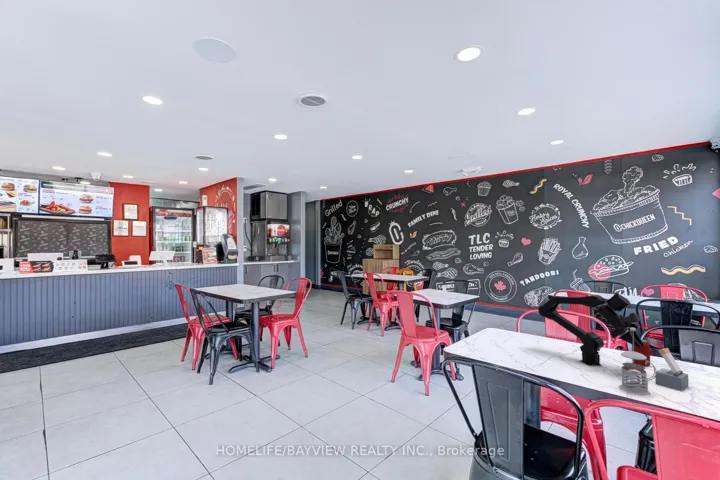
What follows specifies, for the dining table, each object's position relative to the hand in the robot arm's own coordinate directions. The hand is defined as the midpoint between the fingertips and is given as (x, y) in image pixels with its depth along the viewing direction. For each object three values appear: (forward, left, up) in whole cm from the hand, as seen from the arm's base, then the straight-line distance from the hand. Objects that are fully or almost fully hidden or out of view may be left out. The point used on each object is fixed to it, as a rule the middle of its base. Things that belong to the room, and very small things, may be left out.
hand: (642, 346), depth 143 cm
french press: (-14, -14, -14) cm, 24 cm away
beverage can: (+14, +17, -14) cm, 26 cm away
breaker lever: (+6, -10, -8) cm, 14 cm away
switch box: (+5, -8, -14) cm, 17 cm away
